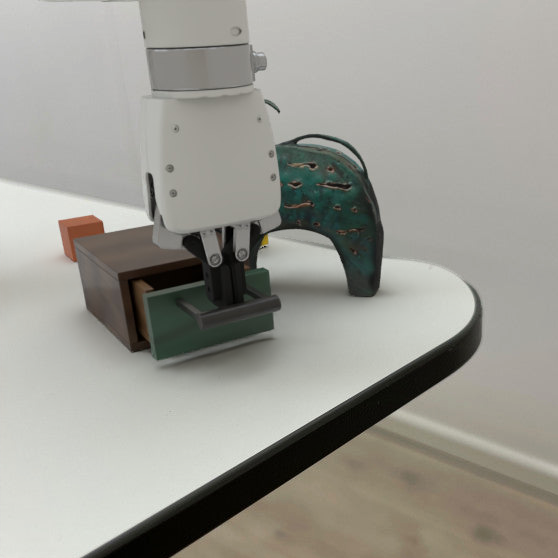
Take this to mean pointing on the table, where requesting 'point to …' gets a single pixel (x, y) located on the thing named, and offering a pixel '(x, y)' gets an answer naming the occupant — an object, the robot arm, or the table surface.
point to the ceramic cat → (330, 206)
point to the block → (78, 231)
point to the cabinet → (124, 275)
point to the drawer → (197, 311)
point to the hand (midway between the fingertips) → (227, 305)
